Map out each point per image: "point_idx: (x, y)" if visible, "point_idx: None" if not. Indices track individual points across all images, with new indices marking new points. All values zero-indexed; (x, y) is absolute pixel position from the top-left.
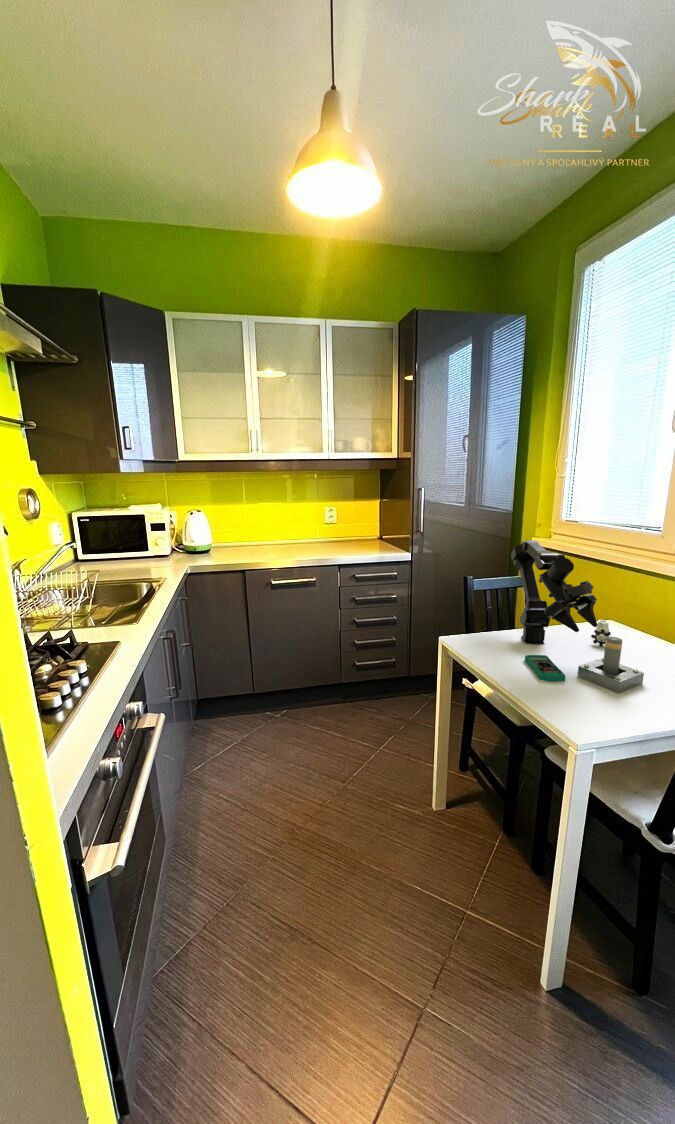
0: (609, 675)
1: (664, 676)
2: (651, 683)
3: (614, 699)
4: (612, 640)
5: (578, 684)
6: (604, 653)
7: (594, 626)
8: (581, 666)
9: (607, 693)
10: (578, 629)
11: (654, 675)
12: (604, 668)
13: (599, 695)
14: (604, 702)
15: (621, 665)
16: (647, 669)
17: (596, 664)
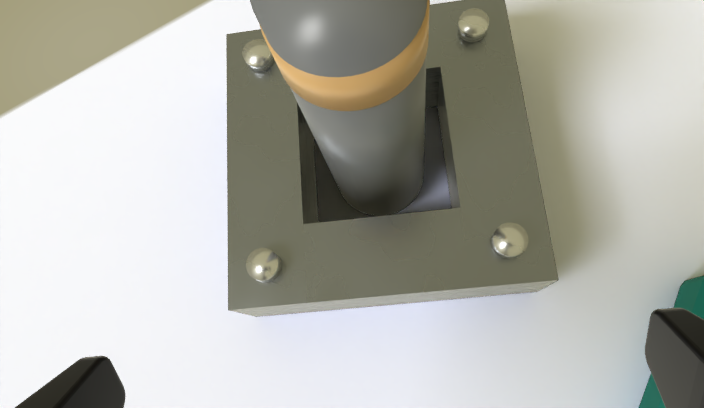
0: (478, 79)
1: (52, 92)
2: (202, 63)
3: (575, 10)
4: None
5: (629, 207)
6: (408, 123)
7: (120, 398)
8: (544, 261)
9: (550, 66)
10: (688, 315)
11: (82, 119)
12: (422, 152)
13: (619, 65)
14: (662, 4)
15: (241, 156)
16: (27, 184)
17: (393, 239)
